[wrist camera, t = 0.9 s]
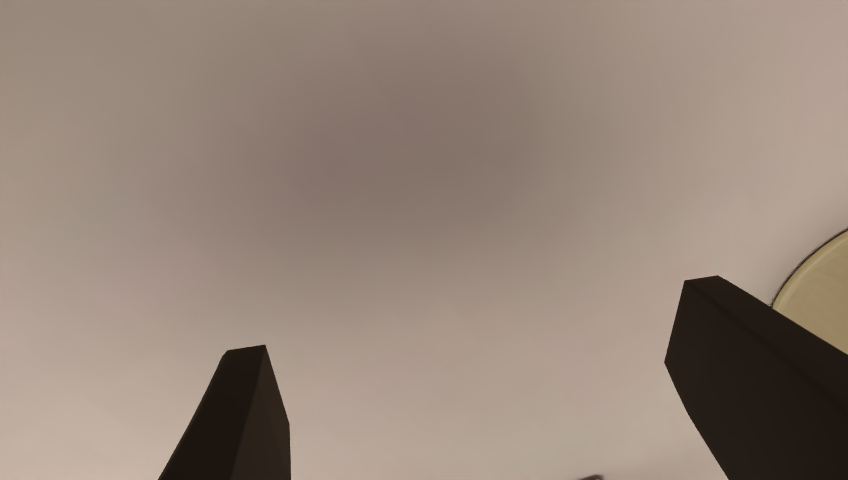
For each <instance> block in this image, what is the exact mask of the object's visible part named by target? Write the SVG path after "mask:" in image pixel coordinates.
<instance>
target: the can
mask: <svg viewBox="0 0 848 480" xmlns="http://www.w3.org/2000/svg"><path fill="white" fill-rule="evenodd" d="M772 308H773V309H774V310H776V311H778V312H779V313H781V314H782V315H784V316H786V317H787V318H789V319H790V320H792V321H794V322H795V323H797V324H798V325H800V326H802V327H803V328H805V329H806V330H808V331H810V332H811V333H813V334H815V335H816V336H818V337H819V338H821V339H823V340H824V341H826V342H828V343H829V344H831V345H833V346H834V347H836V348H838V349H839V350H841V351H843V352H844V353H846V354H848V231H846V232H845V233H843V234H841V235H839V236H838V237H836V238H835V239H833V240H832V241H830V242H829V243H827V244H826V245H824V246H823V247H822V248H820V249H819V250H818V251H817V252H816V253H815V254H813V255H812V256H811V257H810V258H809V259H808V260H806V261H805V262H804V263H803V264H802V265H801V266H800V268H799V269H798V270H797V271H796V272H795V273H794V274H793V275H792V276H791V278H790V279H789V280H788V282H787V283H786V284H785V286H784V287H783V288H782V290H781V291H780V293H779V295H778V297H777V298H776V300H775V302H774V305H773V307H772Z"/></svg>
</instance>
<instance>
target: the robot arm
mask: <svg viewBox="0 0 848 480" xmlns="http://www.w3.org/2000/svg"><path fill="white" fill-rule="evenodd" d="M664 363H665V365H666V367H667V370H668V372H669V374H670V376H671V379H672V381H673V383H674V386H675V388H676V390H677V392H678V394H679V396H680V398H681V400H682V403H683V405H684V407H685V409H686V411H687V413H688V415H689V417H690V418H691V420H692V422H693V423H694V425H695V426H696V428H697V430H698V431H699V433H700V435H701V436H702V438H703V439H704V441H705V443H706V444H707V446H708V447H709V449H710V451H711V452H712V454H713V455H714V457H715V459H716V460H717V462H718V463H719V465H720V467H721V468H722V470H723V471H724V473H725V474H726V476H727V478H728V479H729V480H848V354H846V353H844V352H843V351H841V350H839V349H838V348H836V347H834V346H833V345H831V344H829V343H828V342H826V341H824V340H823V339H821V338H819V337H818V336H816V335H815V334H813V333H811V332H810V331H808V330H806V329H805V328H803V327H802V326H800V325H798V324H797V323H795V322H794V321H792V320H790V319H789V318H787V317H786V316H784V315H782V314H781V313H779V312H778V311H776V310H774V309H773V308H771V307H770V306H768V305H766V304H765V303H763V302H762V301H760V300H758V299H757V298H755V297H753V296H752V295H750V294H749V293H747V292H745V291H744V290H742V289H740V288H739V287H737V286H735V285H734V284H732V283H730V282H729V281H727V280H725V279H723V278H722V277H720V276H718V275H717V276H711V277H704V278H698V279H691V280H685V281H684V285H683V289H682V293H681V297H680V301H679V305H678V309H677V313H676V317H675V321H674V325H673V329H672V333H671V337H670V341H669V345H668V349H667V353H666V357H665V361H664ZM158 480H291V457H290V428H289V421H288V418H287V415H286V411H285V408H284V405H283V401H282V398H281V395H280V391H279V388H278V385H277V382H276V378H275V375H274V372H273V368H272V365H271V362H270V358H269V355H268V352H267V349H266V345H260V346H253V347H246V348H240V349H233V350H227V352H226V353H225V354H224V355H223V356H222V358H221V360H220V362H219V365H218V367H217V369H216V371H215V373H214V375H213V377H212V379H211V382H210V384H209V386H208V388H207V390H206V392H205V394H204V396H203V398H202V400H201V402H200V404H199V406H198V408H197V410H196V412H195V414H194V415H193V417H192V419H191V421H190V423H189V425H188V427H187V429H186V431H185V432H184V434H183V436H182V438H181V440H180V441H179V443H178V445H177V447H176V449H175V450H174V452H173V454H172V456H171V458H170V459H169V461H168V463H167V465H166V467H165V468H164V470H163V472H162V474H161V475H160V477H159V479H158ZM596 480H601V479H596Z"/></svg>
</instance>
